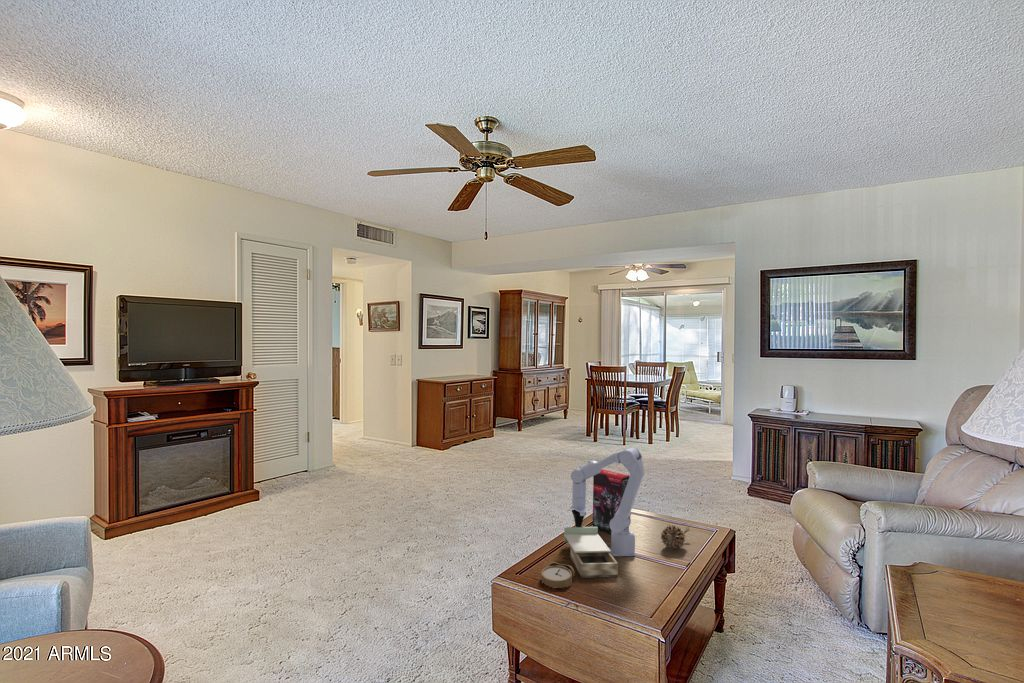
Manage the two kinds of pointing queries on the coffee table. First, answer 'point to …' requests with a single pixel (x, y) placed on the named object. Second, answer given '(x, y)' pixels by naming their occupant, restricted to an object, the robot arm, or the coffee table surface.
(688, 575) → the coffee table surface
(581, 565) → the case
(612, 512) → the graphics card box
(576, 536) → the lid
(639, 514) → the coffee table surface
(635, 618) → the coffee table surface
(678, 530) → the pine cone
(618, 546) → the robot arm
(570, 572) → the alarm clock
